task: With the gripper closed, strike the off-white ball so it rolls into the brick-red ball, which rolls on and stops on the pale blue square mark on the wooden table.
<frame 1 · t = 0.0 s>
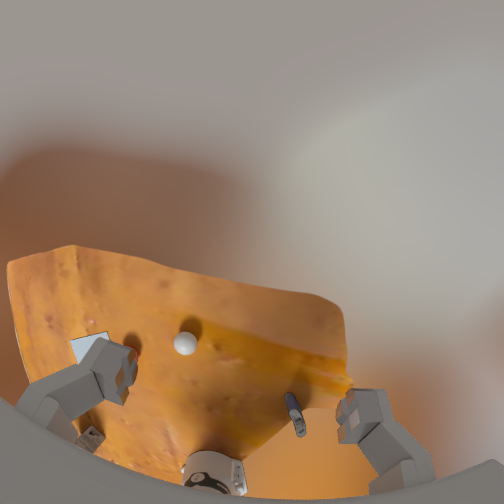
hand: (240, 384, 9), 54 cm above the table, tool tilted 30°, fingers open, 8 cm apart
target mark: (96, 360, 62), on the table
cue ball: (185, 343, 60), on the table
flask: (293, 405, 63), on the table
object ball: (127, 356, 60), on the table
coffee box: (93, 436, 61), on the table
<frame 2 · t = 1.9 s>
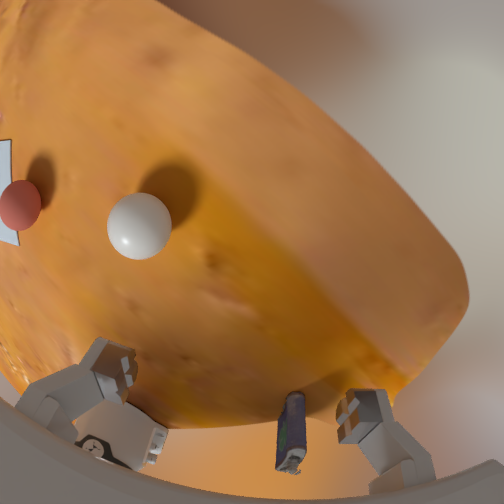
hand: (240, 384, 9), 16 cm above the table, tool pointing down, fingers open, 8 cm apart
cue ball: (139, 226, 22), on the table
flask: (291, 407, 35), on the table
object ball: (19, 205, 22), on the table
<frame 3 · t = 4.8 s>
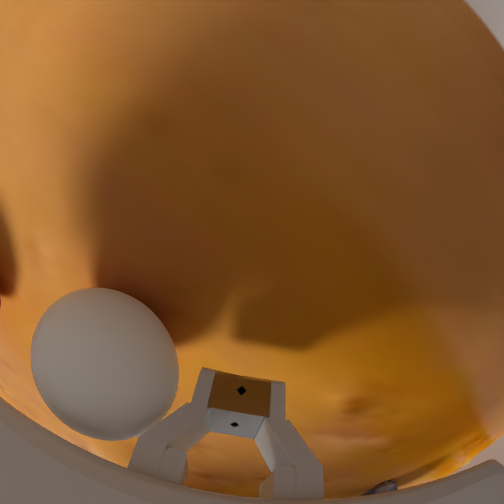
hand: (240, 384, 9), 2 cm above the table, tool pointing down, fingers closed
cue ball: (103, 365, 8), on the table
flask: (374, 489, 22), on the table
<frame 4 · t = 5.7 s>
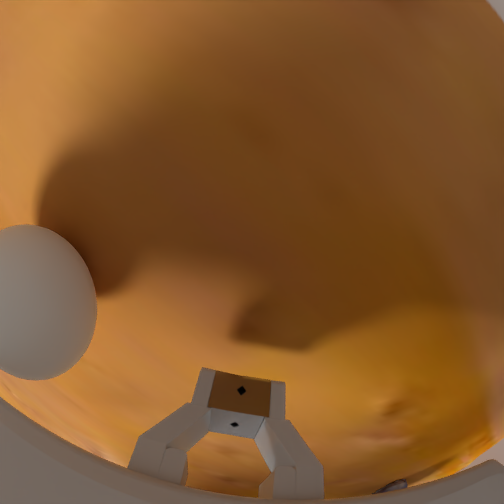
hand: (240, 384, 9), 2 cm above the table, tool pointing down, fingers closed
cue ball: (28, 302, 7), on the table
flask: (384, 488, 22), on the table
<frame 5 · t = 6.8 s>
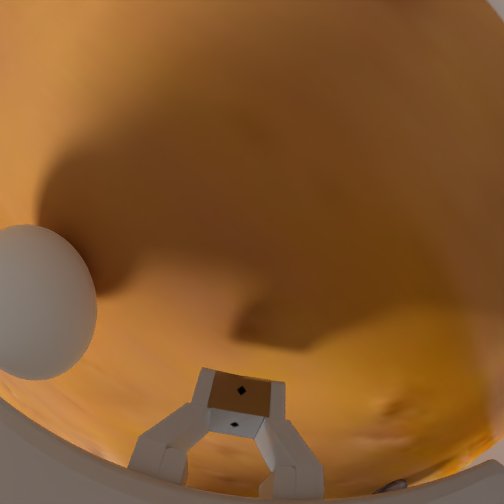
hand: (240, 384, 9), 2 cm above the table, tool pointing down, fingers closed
cue ball: (28, 302, 7), on the table
flask: (384, 488, 22), on the table
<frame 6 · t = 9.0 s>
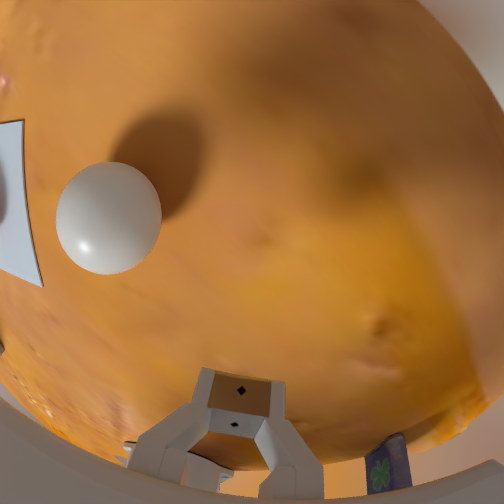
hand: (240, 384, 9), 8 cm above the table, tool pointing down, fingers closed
cue ball: (108, 217, 12), on the table
flask: (383, 445, 28), on the table
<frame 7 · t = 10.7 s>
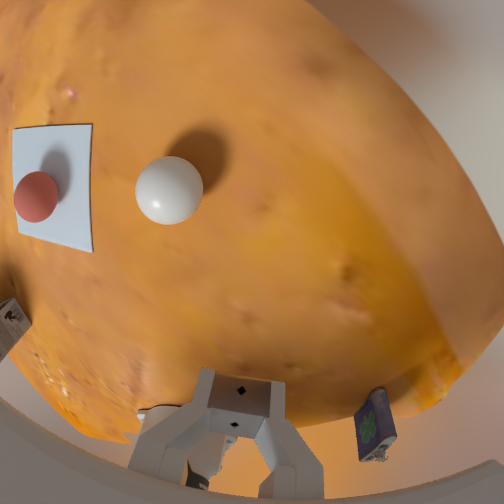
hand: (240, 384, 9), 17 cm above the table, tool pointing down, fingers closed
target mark: (46, 186, 25), on the table
cue ball: (169, 190, 21), on the table
flask: (369, 402, 36), on the table
object ball: (35, 196, 22), on the table
coffee box: (15, 313, 36), on the table
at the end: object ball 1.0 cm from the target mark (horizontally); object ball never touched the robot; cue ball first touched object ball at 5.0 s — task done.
